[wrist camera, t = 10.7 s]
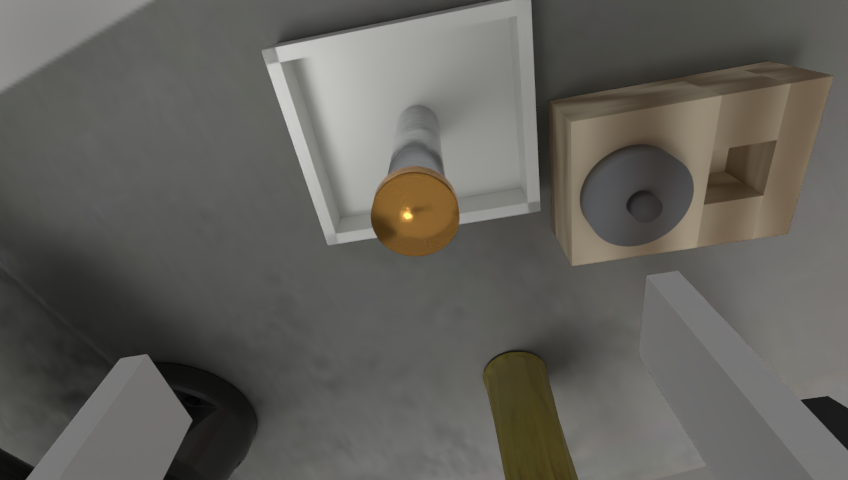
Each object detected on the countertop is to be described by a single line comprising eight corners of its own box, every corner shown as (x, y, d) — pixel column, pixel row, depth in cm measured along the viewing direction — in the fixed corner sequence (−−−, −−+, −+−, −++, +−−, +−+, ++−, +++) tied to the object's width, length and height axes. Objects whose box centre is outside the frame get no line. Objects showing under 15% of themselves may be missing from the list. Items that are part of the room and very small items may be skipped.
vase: (550, 349, 40) (607, 509, 28) (542, 394, 44) (591, 555, 31) (484, 350, 40) (513, 511, 28) (481, 395, 44) (506, 557, 31)
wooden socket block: (552, 230, 34) (584, 289, 27) (548, 100, 29) (586, 136, 22) (739, 200, 33) (819, 255, 26) (769, 61, 28) (877, 85, 21)
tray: (334, 225, 33) (327, 245, 31) (276, 43, 27) (261, 50, 24) (530, 192, 32) (540, 211, 30) (519, -6, 26) (530, -4, 23)
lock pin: (396, 156, 30) (381, 261, 19) (385, 104, 28) (361, 185, 17) (448, 147, 30) (464, 249, 18) (440, 94, 28) (452, 170, 17)
